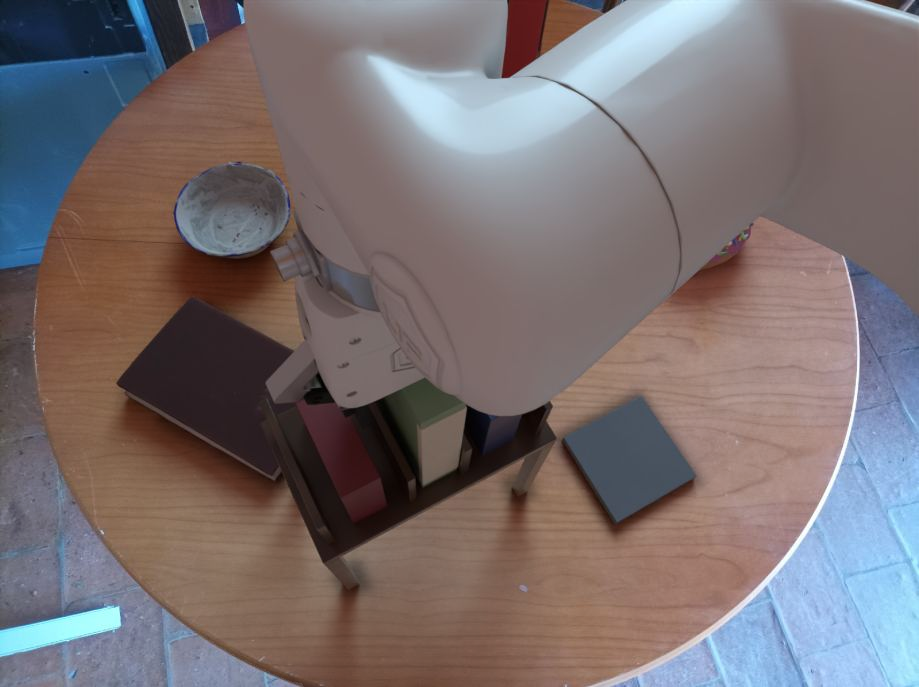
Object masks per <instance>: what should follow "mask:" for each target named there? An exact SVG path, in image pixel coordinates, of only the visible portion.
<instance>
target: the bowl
mask: <svg viewBox="0 0 919 687" xmlns="http://www.w3.org/2000/svg"><path fill="white" fill-rule="evenodd" d="M172 213H173V214H172V215H173V219H174V223H175V228H176V231H177V232H178V234H179V236H180V237H181V239H182V240H183V241H184V242H185V244H187V245H188V246H189V247H191V249H193V250H195V251H197V252H199V253H201V254H204V255H206V256H211V257H216V258H227V259H237V260H238V259H247V258H251V257H254V256H256V255H259V254H260V253H262V252H263V251H264V250H266V249H267V248H268V247H269V246H270V245H271V244H273V243H274V242H275V241H276V240H277V239H279V237H280V236H281V235H282V233H283V232H284V231H285V229H286V228H287V226H288V224H289V222H290V218H291V199H290V194H289V192H288V190H287V188H286V186H285V185H284V183H283V181H282V180H281V178H279V177H278V176H277V174H276V172H275V171H273V170H271V169H269V168H265V167H263V166H259V165H257V164H251V163H248V162H242V161H236V162H232V161H228V162H226V163H225V164H220V165H216V166H213V167H210V168H208V169H206V170H204V171H202V172H200V173H198V174H196V176H195V177H193V178H191V179H190V180H189V181H187V182H186V184H184V185H183V188H181V190H180V191H179V194H178V196H177V197H176V202H175V205H174V208H173V212H172Z"/></svg>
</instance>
